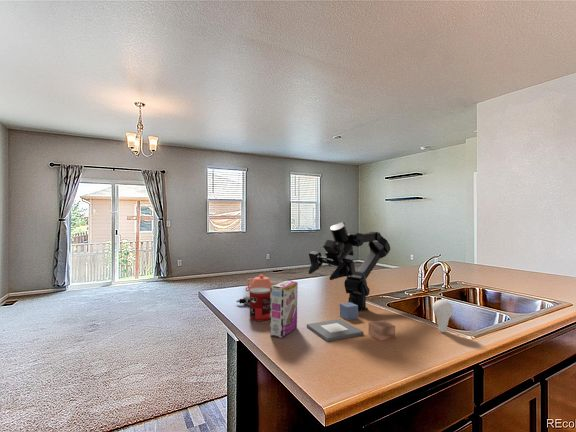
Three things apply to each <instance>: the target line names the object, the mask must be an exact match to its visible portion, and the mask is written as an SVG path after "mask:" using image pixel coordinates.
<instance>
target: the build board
mask: <svg viewBox="0 0 576 432" xmlns="http://www.w3.org/2000/svg"><path fill="white" fill-rule="evenodd" d="M306 328H307V329H309V330H310V331H312V332H313V333H314V334H316V335H317V336H318V337H320V338H321V339H323V340H324V341H325V342H332V341H337V340H338V341H339V340H342V339H348V338H354V337H359V336H364V331H363V330H361V329H360V328H357V327H356V326H354V325H352V324H350V323H348V322H346V321H344V320H343V319H341V318H337V319H331V320H325V321H319V322H312V323H306Z"/></svg>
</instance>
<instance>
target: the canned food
mask: <svg viewBox="0 0 576 432" xmlns="http://www.w3.org/2000/svg"><path fill="white" fill-rule="evenodd" d="M249 295H250V305H249V319H250V320H252V321H255V322H264V321H268V320H270V313H271V304H270V289H268V288H252V289H250V292H249Z"/></svg>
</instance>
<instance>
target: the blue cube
mask: <svg viewBox="0 0 576 432" xmlns="http://www.w3.org/2000/svg"><path fill="white" fill-rule="evenodd" d="M339 317H341V318H343V319H344V320H346V321H349V320H357V319H359V311H358V305H355V304H353V303H351V302H349V301H348V302H342V303H339Z"/></svg>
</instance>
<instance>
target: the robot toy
mask: <svg viewBox="0 0 576 432" xmlns="http://www.w3.org/2000/svg"><path fill="white" fill-rule="evenodd" d="M236 303H239V304H245V305H248V306H250V294H247V295H245V296H243V298H240V299H237V300H236ZM270 305H271V295H270Z"/></svg>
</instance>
